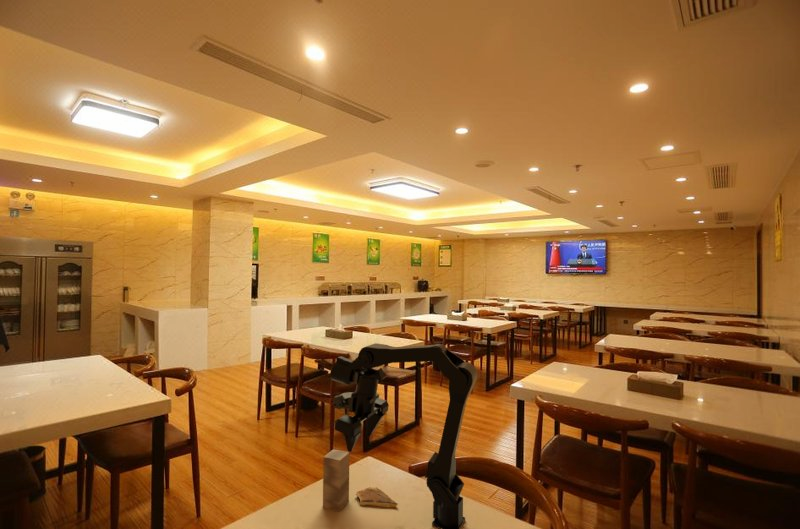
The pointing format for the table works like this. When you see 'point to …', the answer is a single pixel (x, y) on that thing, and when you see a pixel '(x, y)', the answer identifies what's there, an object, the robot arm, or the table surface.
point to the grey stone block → (336, 479)
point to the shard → (375, 498)
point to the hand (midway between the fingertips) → (359, 443)
